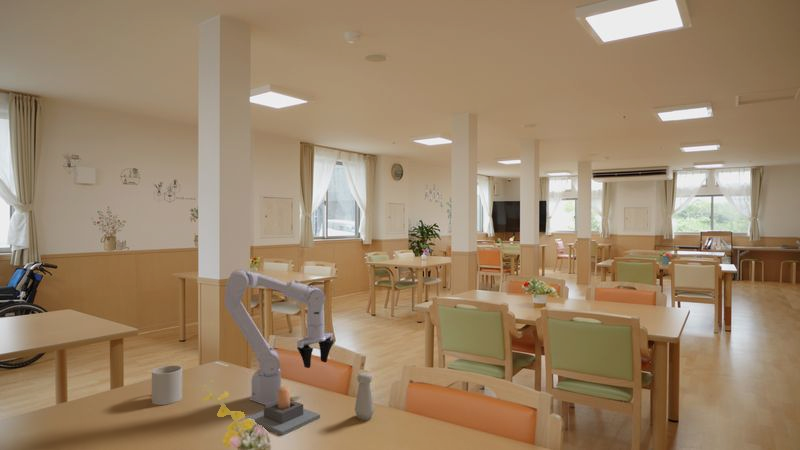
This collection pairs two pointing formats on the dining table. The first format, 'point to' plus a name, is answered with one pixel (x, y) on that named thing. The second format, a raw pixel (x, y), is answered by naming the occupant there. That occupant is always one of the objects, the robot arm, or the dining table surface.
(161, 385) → the grey cup
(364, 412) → the salt shaker
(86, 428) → the dining table surface
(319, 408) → the dining table surface
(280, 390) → the peg
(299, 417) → the socket board
